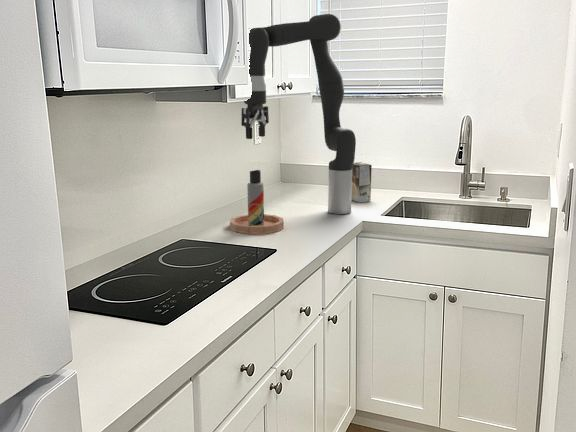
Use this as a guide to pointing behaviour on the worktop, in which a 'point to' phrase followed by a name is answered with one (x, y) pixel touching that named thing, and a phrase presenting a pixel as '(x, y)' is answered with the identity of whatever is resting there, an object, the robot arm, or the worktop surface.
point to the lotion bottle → (255, 199)
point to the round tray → (270, 226)
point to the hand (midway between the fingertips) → (255, 137)
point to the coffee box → (361, 182)
